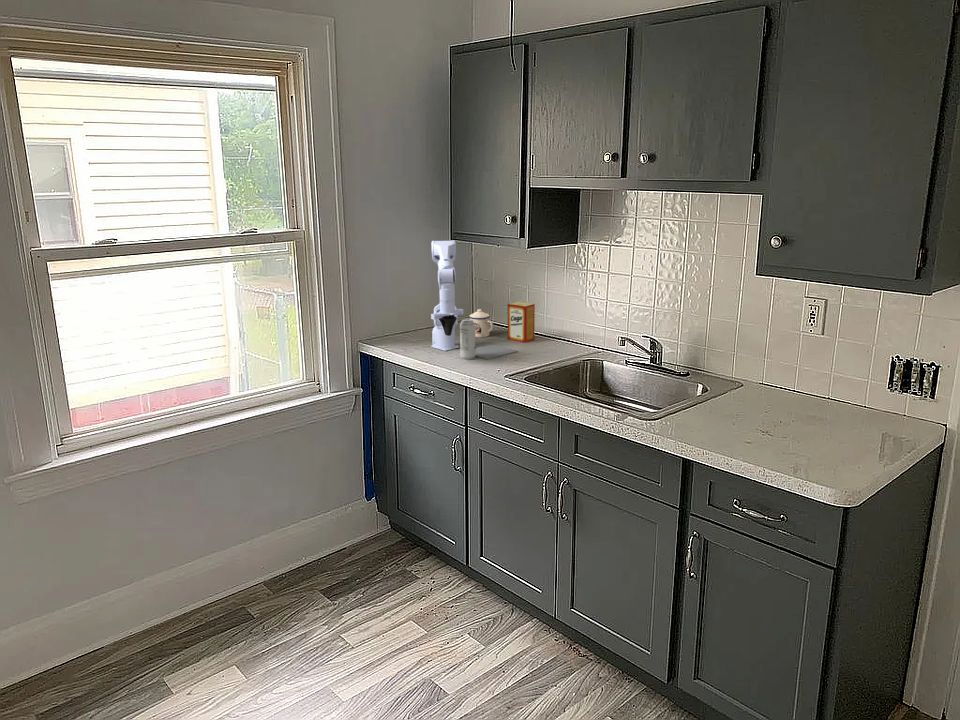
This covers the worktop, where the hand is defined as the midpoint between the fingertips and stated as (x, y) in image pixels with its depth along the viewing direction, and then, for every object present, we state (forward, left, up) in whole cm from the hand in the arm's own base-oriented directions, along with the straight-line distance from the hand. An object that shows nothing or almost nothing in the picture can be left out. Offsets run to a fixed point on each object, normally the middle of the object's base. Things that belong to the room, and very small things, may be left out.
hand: (448, 335), depth 285 cm
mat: (+1, +21, -11) cm, 24 cm away
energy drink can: (+1, +9, -11) cm, 14 cm away
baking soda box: (-5, +45, -11) cm, 46 cm away
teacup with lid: (-22, +38, -11) cm, 45 cm away
